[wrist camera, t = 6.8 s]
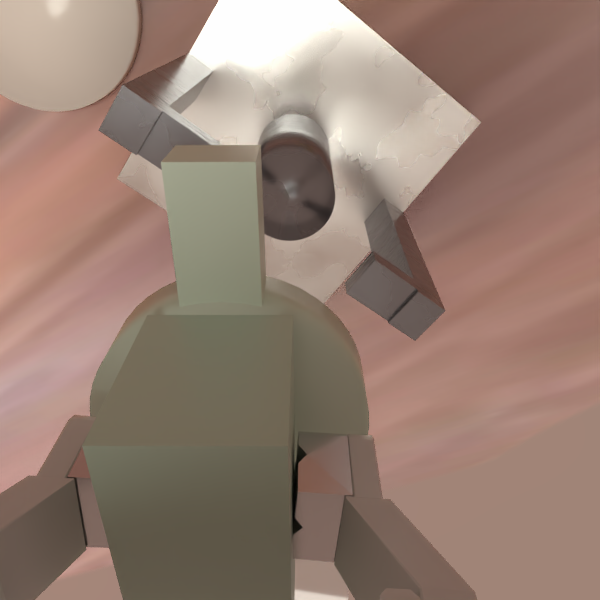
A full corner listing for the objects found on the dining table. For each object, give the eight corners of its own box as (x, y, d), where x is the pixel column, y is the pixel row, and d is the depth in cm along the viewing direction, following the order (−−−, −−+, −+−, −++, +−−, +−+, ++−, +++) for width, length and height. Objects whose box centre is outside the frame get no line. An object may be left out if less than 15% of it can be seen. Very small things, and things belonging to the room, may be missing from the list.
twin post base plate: (260, -66, 29) (225, -108, 17) (475, 118, 34) (568, 187, 22) (122, 173, 36) (26, 264, 24) (319, 300, 40) (323, 432, 28)
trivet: (-16, -169, 27) (-29, -175, 26) (177, -19, 30) (172, -19, 29) (-83, 30, 32) (-97, 31, 31) (90, 143, 35) (83, 148, 34)
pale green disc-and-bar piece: (377, 142, 10) (428, 248, 6) (353, 540, 16) (370, 747, 12) (61, 144, 10) (-114, 250, 6) (146, 540, 16) (86, 744, 12)
